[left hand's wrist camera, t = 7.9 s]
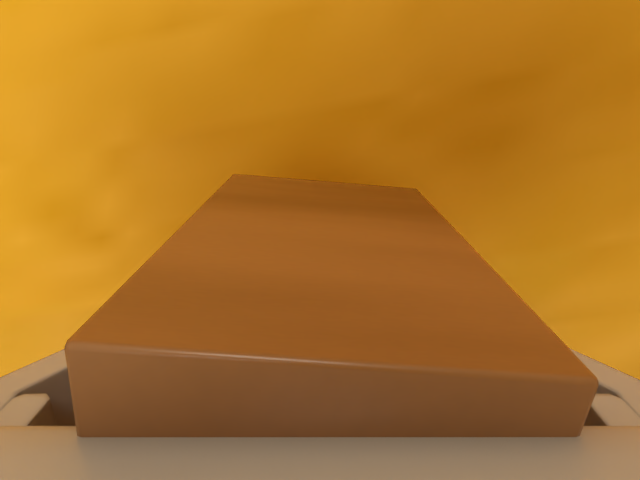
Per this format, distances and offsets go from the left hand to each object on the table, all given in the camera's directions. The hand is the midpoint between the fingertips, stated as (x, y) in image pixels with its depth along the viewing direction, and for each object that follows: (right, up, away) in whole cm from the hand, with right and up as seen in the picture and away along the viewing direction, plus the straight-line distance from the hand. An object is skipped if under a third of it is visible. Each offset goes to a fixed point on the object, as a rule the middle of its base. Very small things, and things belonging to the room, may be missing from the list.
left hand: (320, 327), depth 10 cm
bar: (-1, -7, +7) cm, 10 cm away
